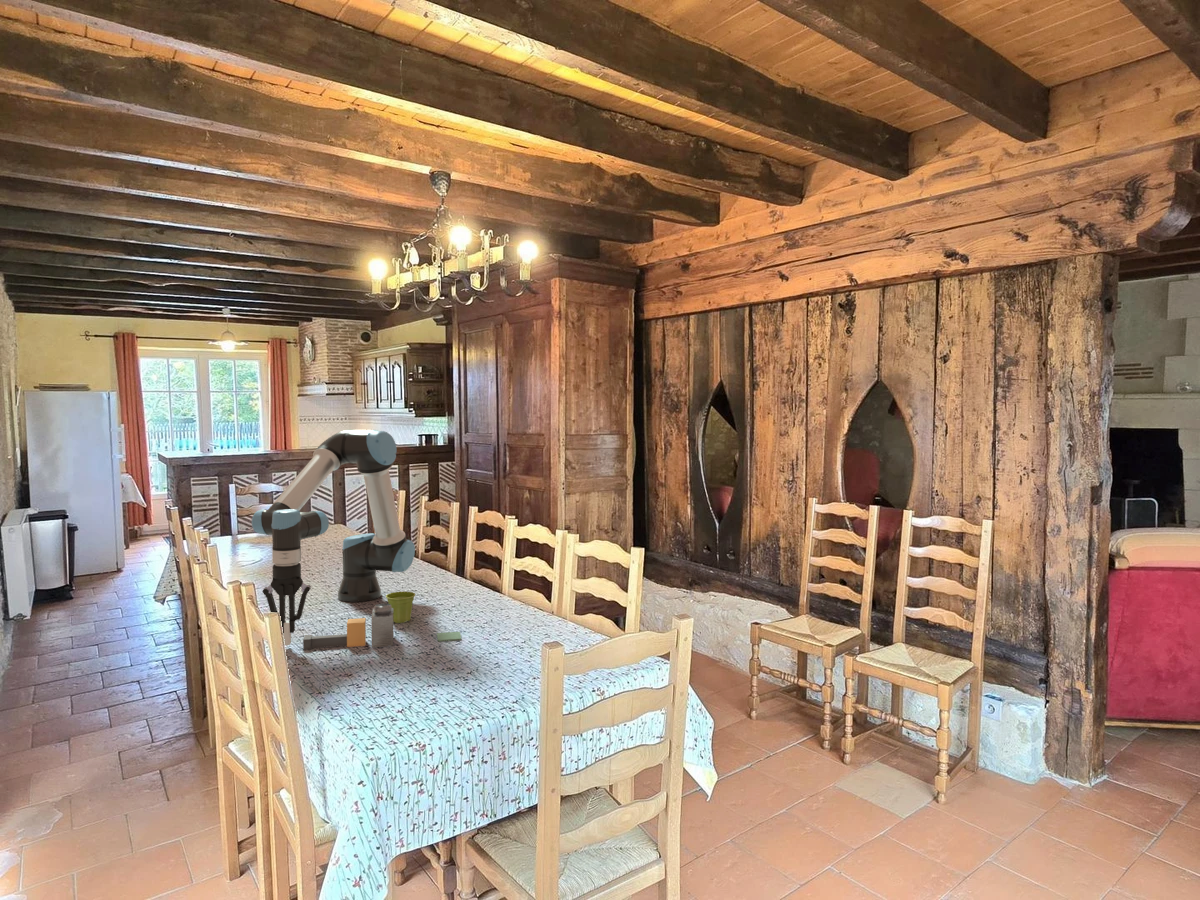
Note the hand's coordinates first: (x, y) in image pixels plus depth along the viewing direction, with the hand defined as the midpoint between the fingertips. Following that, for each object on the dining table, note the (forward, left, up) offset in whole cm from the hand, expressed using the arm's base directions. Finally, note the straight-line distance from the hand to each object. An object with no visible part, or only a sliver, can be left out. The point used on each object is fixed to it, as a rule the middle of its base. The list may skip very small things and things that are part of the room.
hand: (287, 643), depth 206 cm
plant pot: (-21, +32, -2) cm, 38 cm away
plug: (0, +13, -2) cm, 13 cm away
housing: (0, +27, -2) cm, 27 cm away
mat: (0, +46, -2) cm, 46 cm away
